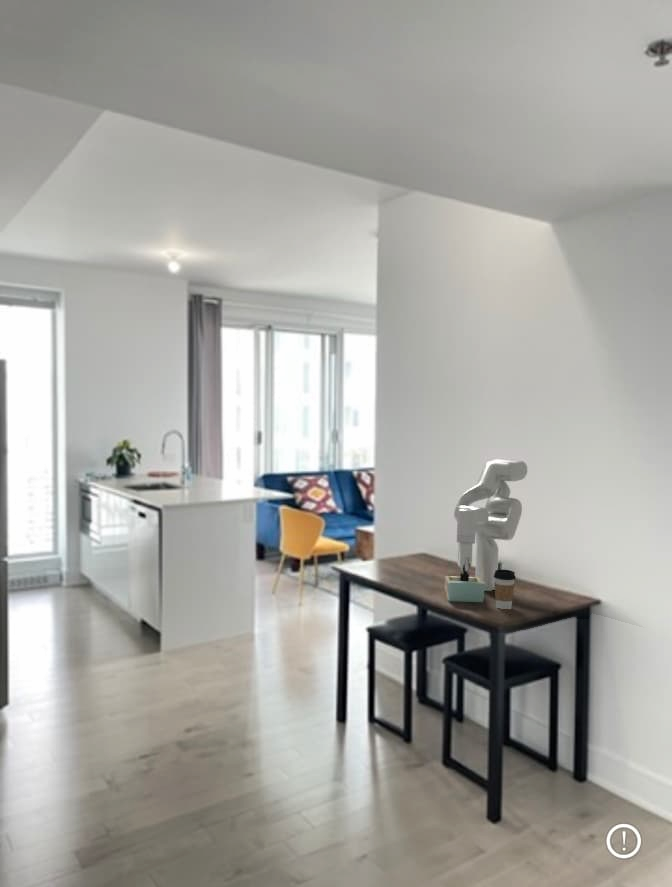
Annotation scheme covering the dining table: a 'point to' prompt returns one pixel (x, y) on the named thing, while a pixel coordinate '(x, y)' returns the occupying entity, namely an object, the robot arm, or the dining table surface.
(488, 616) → the dining table surface
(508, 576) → the coffee cup
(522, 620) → the dining table surface
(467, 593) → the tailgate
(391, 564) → the dining table surface
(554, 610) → the dining table surface
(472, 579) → the crate
